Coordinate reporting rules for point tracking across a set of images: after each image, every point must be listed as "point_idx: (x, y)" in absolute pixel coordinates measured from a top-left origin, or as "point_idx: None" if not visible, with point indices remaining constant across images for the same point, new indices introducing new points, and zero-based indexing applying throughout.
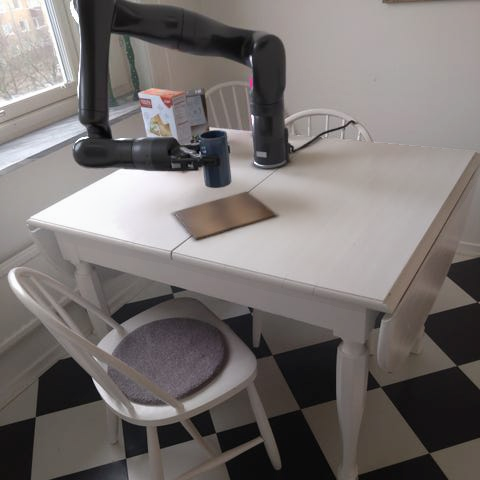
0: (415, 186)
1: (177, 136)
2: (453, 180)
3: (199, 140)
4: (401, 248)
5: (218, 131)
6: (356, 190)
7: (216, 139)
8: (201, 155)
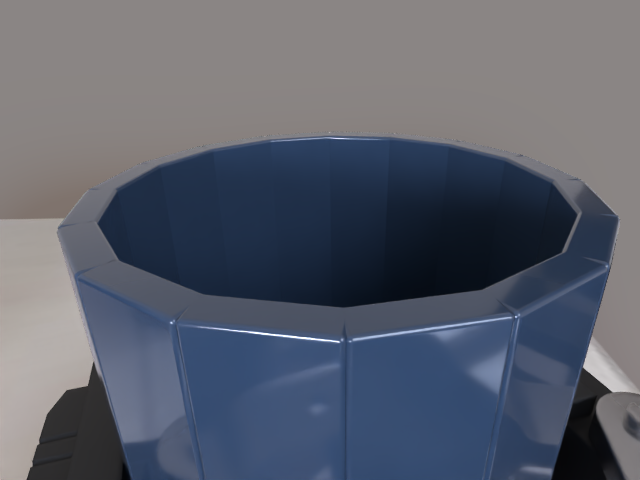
0: (27, 249)
1: None
2: (9, 221)
3: (597, 311)
4: None
5: (112, 211)
6: (23, 320)
7: (447, 148)
8: (617, 418)
